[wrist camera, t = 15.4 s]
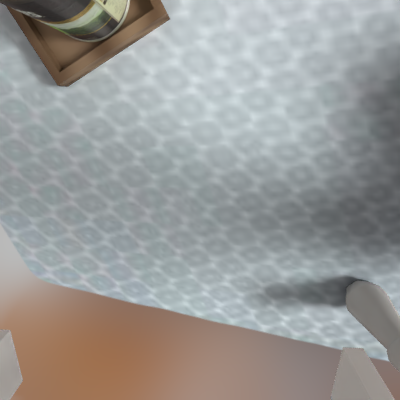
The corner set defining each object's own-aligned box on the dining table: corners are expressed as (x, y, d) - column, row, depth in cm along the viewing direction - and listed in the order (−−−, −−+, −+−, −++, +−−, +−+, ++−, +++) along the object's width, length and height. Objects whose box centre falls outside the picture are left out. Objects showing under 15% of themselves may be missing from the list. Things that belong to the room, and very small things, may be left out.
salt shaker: (339, 308, 44) (387, 386, 32) (339, 277, 42) (390, 348, 30) (377, 304, 44) (442, 383, 31) (379, 273, 42) (448, 343, 30)
